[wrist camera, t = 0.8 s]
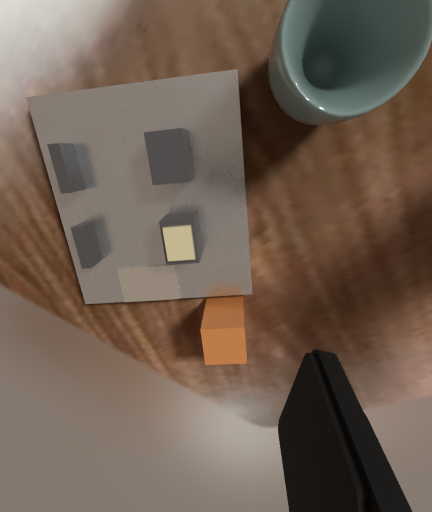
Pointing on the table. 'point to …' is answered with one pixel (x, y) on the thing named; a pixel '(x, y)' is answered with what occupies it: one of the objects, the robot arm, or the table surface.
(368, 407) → the table surface
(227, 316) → the cap
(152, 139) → the toggle
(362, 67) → the cup
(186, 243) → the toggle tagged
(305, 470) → the robot arm
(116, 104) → the panel
